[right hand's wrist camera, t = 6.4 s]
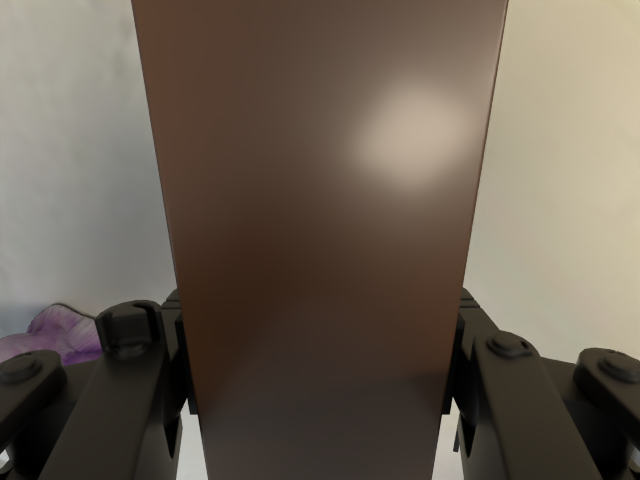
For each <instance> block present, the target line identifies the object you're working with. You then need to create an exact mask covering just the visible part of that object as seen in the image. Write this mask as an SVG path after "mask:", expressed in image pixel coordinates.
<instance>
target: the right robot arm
mask: <svg viewBox="0 0 640 480" xmlns="http://www.w3.org/2000/svg"><path fill="white" fill-rule="evenodd" d="M94 322H95V326H96V330H97V333H98V337H99V341H100V344H101V348H102V354H101V356H100V358H98V359H95V360H90V361H85V362H80V363H75V364H70V365H65V366H64V365H63V361H62V358H61V355H60V354H59V353H57V352H56V351H54V350H47V349H44V350H35V351H29V352H25V353H21V354H18V355H15V356H14V357H12V358H10V359H8V360H5V361H3V362H1V363H0V454H1V453H2V452H3V451H4V450H6V452H7V454H8V456H9V461H8V462H7V463H6V464H5V465H4V466H3V467H2V468H1V469H0V480H176V475H177V467H178V460H179V452H180V445H181V437H182V429H183V427H182V420H181V414H180V412H181V410H182V408H183V405H184V403H185V401H186V399H188V405H189V411H190V415H198V413H197V407H196V401H195V394H194V388H193V382H192V376H191V370H190V363H189V357H188V351H187V345H186V338H185V332H184V326H183V320H182V314H181V307H180V301H179V295H178V289H175V290H174V291H173V292H172V293H171V294H170V296H169V297H168V298H167V299H166V302H164V303H163V304H162V305H161V306H160V305H159V304H157V303H156V302H154V301H149V300H134V301H129V302H124V303H121V304H118V305H115V306H113V307H110V308H108V309H107V310H105V311H103V312H102V313H100V314H99V315H98V316H97V317H96V318H95V319H94ZM452 398H454V400H455V402H456V404H457V406H458V408H459V411H460V414H459V420H458V425H457V431H456V436H455V441H454V448H453V451H454V452H458V449H459V445H460V451H461V459H462V466H463V474H464V480H640V361H639V360H637V359H634V358H632V357H630V356H628V355H626V354H624V353H621V352H618V351H617V352H616V351H615V350H610V349H602V348H589V349H584V350H583V351H582V352H581V353H580V354H579V357H578V360H577V364H573V363H568V362H563V361H558V360H553V359H548V358H544V357H540V355H539V353H538V351H537V350H536V349H535V348H534V346H533V345H532V344H531V343H529V342H528V341H526V340H525V339H524V338H522V337H520V336H517V335H515V334H513V333H510V332H506V331H502V330H499V328H498V327H497V326H496V325H495V324H494V322H493V321H492V320H491V319H490V317H489V316H488V315H487V314H486V313H485V311H484V310H483V309H482V308H480V305H479V304H478V303H477V302H476V300H474V298H473V297H472V296H471V294H470V293H469V292H468V291H467V290H466V289H465V288H463V287H462V293H461V299H460V306H459V312H458V318H457V324H456V330H455V337H454V343H453V349H452V355H451V361H450V368H449V374H448V380H447V386H446V393H445V399H444V405H443V411H442V415H450V410H451V404H452Z"/></svg>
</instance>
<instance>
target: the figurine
mask: <svg viewBox="0 0 640 480" xmlns="http://www.w3.org/2000/svg"><path fill="white" fill-rule="evenodd" d="M44 349H47V350H54V351H56V352H57V353H59V354H60V355H61V358H62V361H63V365H64V366H65V365H70V364H75V363H80V362H85V361H90V360H95V359H98V358H100V356H101V354H102V348H101V344H100V341H99V337H98V333H97V330H96V326H95V322H94V319H91V318H88V317H85V316H81V315H79V314H77V313H75V312H74V311H72V310H70V309H69V308H66V307H64V306H61V305H52V306H50V307H49V308H47V309H46V310H45V311H43V312H41V314H39V315H37V316H36V317H34V319H33V320H32V322H31V324H30V325H29V327H28V330H27V332H26V333H23V334H15V335H10V336H6V337H3V338H1V339H0V363H1V362H3V361H5V360H8V359H10V358H12V357H14V356H15V355H18V354H21V353H25V352H29V351H35V350H44Z"/></svg>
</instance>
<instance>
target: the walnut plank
mask: <svg viewBox="0 0 640 480" xmlns="http://www.w3.org/2000/svg"><path fill="white" fill-rule="evenodd" d="M508 1H509V0H131V3H132V9H133V15H134V21H135V27H136V34H137V40H138V46H139V52H140V59H141V65H142V71H143V77H144V83H145V90H146V96H147V102H148V108H149V115H150V121H151V127H152V133H153V139H154V146H155V152H156V158H157V164H158V171H159V177H160V183H161V189H162V195H163V202H164V208H165V214H166V220H167V227H168V233H169V239H170V245H171V251H172V258H173V264H174V270H175V276H176V282H177V289H178V295H179V301H180V307H181V314H182V320H183V326H184V332H185V338H186V345H187V351H188V357H189V363H190V370H191V376H192V382H193V388H194V394H195V401H196V407H197V413H198V419H199V426H200V432H201V438H202V444H203V450H204V457H205V463H206V469H207V475H208V480H431V479H432V473H433V467H434V461H435V455H436V448H437V442H438V436H439V430H440V424H441V417H442V411H443V405H444V399H445V393H446V386H447V380H448V374H449V368H450V361H451V355H452V349H453V343H454V337H455V330H456V324H457V318H458V312H459V306H460V299H461V293H462V287H463V281H464V275H465V268H466V262H467V256H468V250H469V244H470V237H471V231H472V225H473V219H474V212H475V206H476V200H477V194H478V188H479V181H480V175H481V169H482V163H483V157H484V150H485V144H486V138H487V132H488V126H489V119H490V113H491V107H492V101H493V95H494V88H495V82H496V76H497V70H498V63H499V57H500V51H501V45H502V39H503V32H504V26H505V20H506V14H507V8H508Z"/></svg>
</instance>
